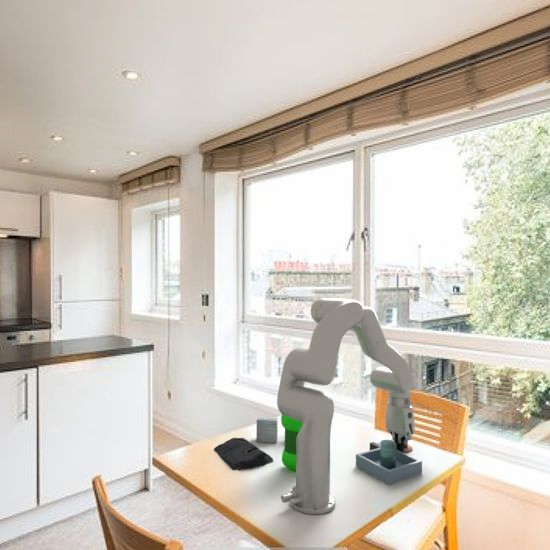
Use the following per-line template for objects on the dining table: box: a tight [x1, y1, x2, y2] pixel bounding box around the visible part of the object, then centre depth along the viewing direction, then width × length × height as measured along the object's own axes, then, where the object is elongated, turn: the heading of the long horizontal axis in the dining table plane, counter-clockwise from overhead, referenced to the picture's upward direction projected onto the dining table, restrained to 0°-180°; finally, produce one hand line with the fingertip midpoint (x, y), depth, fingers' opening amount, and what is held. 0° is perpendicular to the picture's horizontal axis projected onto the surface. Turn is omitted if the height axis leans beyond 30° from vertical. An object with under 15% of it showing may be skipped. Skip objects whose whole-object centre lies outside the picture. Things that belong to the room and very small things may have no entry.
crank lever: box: [369, 438, 409, 451], centre depth 155 cm, size 16×5×4 cm, turn 121°
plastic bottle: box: [280, 413, 303, 473], centre depth 141 cm, size 10×10×25 cm
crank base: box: [403, 444, 413, 453], centre depth 158 cm, size 7×7×1 cm
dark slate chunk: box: [213, 437, 274, 472], centre depth 151 cm, size 15×22×5 cm
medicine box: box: [255, 416, 279, 444], centre depth 165 cm, size 8×4×9 cm, turn 84°
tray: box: [355, 448, 423, 486], centre depth 140 cm, size 15×15×4 cm
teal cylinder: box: [380, 439, 396, 470], centre depth 140 cm, size 5×5×8 cm
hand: (398, 452), depth 151 cm, fingers closed
